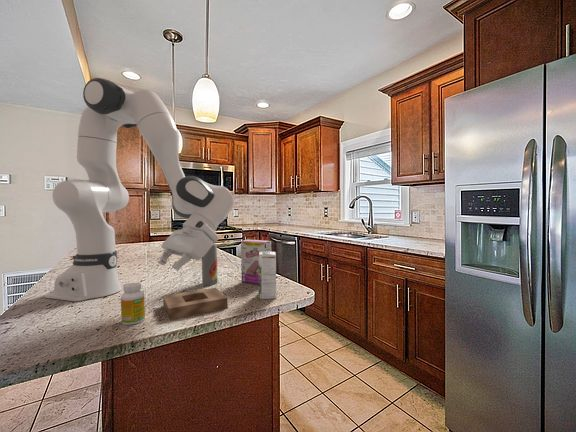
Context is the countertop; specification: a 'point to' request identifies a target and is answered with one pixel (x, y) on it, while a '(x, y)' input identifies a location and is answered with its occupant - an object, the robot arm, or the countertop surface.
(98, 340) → the countertop surface
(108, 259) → the robot arm
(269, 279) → the syrup box
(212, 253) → the lotion bottle
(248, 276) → the candy bar box
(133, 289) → the supplement bottle
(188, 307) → the socket block
